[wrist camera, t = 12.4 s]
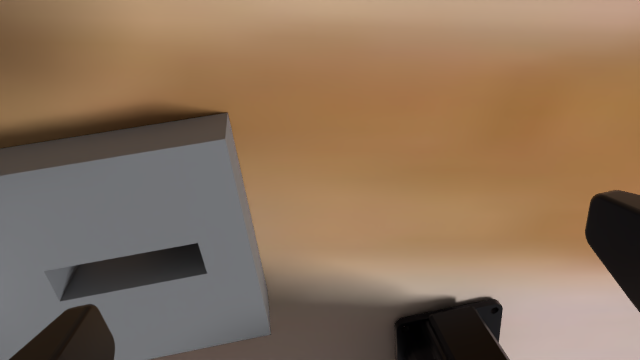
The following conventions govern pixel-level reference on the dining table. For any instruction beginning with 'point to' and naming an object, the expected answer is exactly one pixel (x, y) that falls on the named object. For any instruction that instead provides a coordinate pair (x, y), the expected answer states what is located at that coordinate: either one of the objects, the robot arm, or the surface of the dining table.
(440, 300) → the dining table surface
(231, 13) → the dining table surface
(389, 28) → the dining table surface
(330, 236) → the dining table surface
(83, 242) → the socket plate
